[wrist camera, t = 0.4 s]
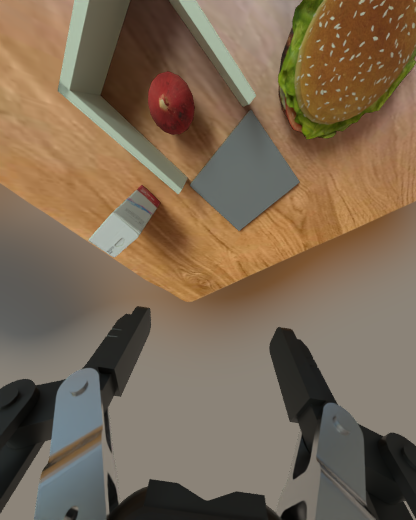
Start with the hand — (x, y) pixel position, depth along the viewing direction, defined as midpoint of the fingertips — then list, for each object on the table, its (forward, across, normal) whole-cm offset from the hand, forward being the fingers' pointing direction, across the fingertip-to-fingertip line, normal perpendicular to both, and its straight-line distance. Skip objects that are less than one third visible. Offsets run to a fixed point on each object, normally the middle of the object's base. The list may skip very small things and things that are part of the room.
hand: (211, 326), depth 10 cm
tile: (+27, -4, -8) cm, 28 cm away
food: (+23, -11, -23) cm, 35 cm away
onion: (+24, +8, -17) cm, 31 cm away
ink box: (+28, +17, -1) cm, 32 cm away
